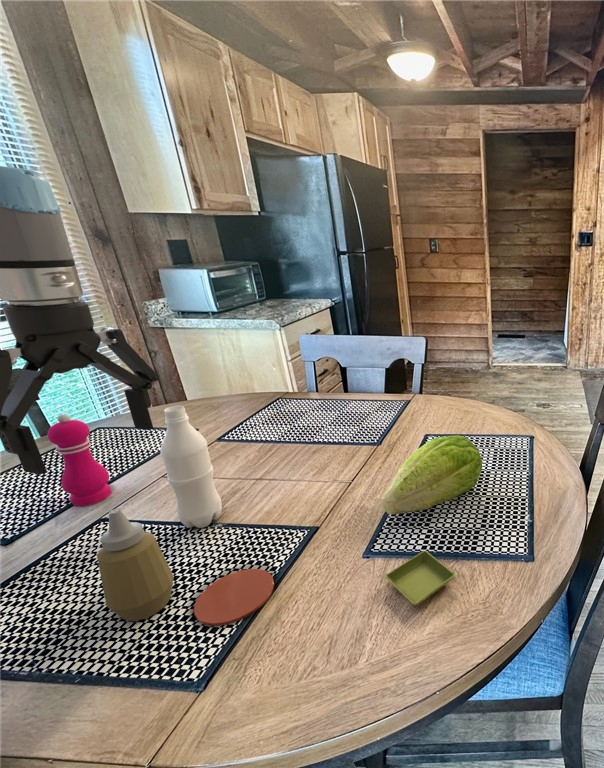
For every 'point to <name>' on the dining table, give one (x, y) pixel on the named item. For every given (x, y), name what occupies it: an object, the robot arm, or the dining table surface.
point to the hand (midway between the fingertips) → (95, 448)
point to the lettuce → (434, 475)
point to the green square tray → (420, 577)
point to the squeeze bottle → (133, 570)
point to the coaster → (234, 597)
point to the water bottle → (189, 470)
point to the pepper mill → (79, 462)
